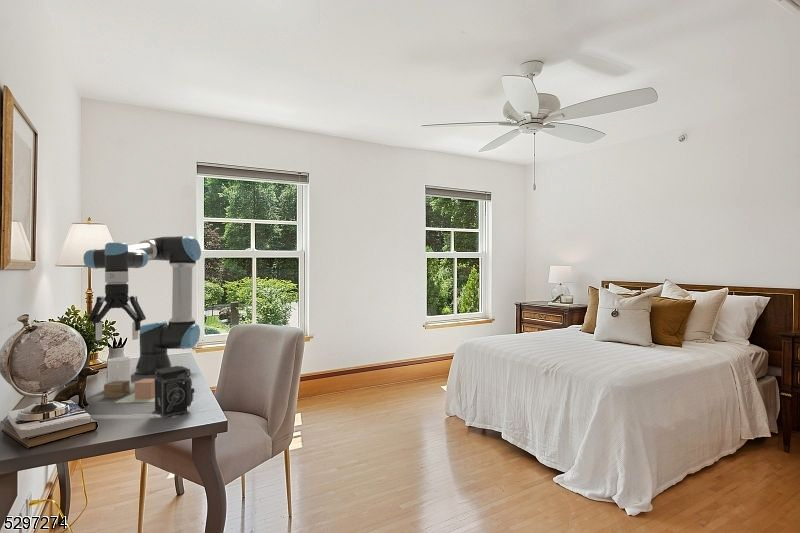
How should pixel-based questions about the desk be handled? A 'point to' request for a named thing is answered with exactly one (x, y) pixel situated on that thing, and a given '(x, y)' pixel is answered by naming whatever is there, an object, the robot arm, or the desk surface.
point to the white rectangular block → (119, 369)
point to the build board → (132, 399)
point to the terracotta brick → (145, 389)
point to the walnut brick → (116, 388)
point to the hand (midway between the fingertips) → (117, 339)
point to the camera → (173, 390)
